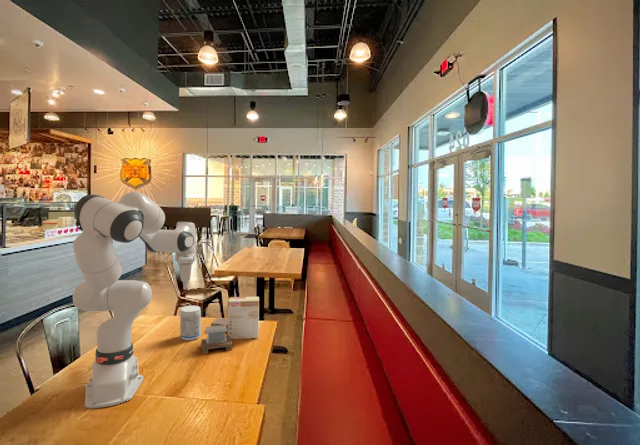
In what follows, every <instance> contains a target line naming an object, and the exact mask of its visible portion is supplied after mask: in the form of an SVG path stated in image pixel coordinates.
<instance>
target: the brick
mask: <svg viewBox="0 0 640 445" xmlns="http://www.w3.org/2000/svg"><path fill="white" fill-rule="evenodd" d="M221 325H226V327H227V331H226V332H225V333H228V318H224V317H217V318H215V319H214V320H213V321H212V322H211V323H210V327H211V326H221Z"/></svg>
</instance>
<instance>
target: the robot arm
mask: <svg viewBox="0 0 640 445" xmlns="http://www.w3.org/2000/svg"><path fill="white" fill-rule="evenodd" d="M73 214H74V218H75V226H76V228H77V229H79V231H82V232H81V233H80V234H79V235H78V236H77V237H76V238H75V239H74V241H73V246H72V247H73V252H74V257H75V260H76V263H77V265H78V267H79V269H80V272H81V274H82V275H83V280H84V281H83V282H81V283H79V284H78V285H77V286H76V287H75V289H74V291H73V293H72V302H73V305H74V306H75V308H76V309H77V310H80V311H86V312H113V317H111V318H108V319H106V320H105V321H104V322H102V323H101V324H100V325H99V326H98V327H97V330H96V350H95V356H94V357H95V359H94V360H95V361H94V362H92V363H91V366H92V377H90V379H89V382H87V383H86V384H85V389H84V390H85V393H84V394H85V395H84V407H85V408H86V409H99V408H100V409H101V408H107V407H111V406H117V405H120V403H121V404H124V403H126V402H125V401H127V402H129V401H131V400H132V399H133V397H134V396H135V394H136V393H137V391H138V389H139V387H140V386H141V384H142V382H143V381H144V379H145V378H144V375H142V374H139V361H138V360H139V359H138V357H137V356H135V354H134V345H133V342H132V338H133V337H132V334H133V333H132V332H133V323H134V321H135V320H136V317H137V315H138V314H139V313H140V312H141V311H143V310H144V309H145V308H146V307H148V305H149V304H150V303H151V301H152V298H153V290H152V287H151V285H150V284H149V283H148V282H146V281H142V280H135V279H126V280H125V279H120V278H121V277H122V273H123V267H122V265H121V262H120V260H119V257H118V255H117V252H116V249H115V247H114V246H113V244H114V242H113V241H115V242H119V243H122V244H123V243H124V244H127V243H128V244H129V243H131V242H132V241H135V240H136V239H137V238H138V237H139V239H140V240H141V241H142V242H143V243H144V245H145V247H146V249H147V250H148V251H149V252H150V253H174V254H175V256H174V258H175V262H177V265H178V268H179V276H180V281H181V282H182V285H183V287H182V288H183V290H188V287H189V285H188V284H189V281H190V280H191V275H192V267H193V264H194V262H195V261H196V260H197V248H196V242H197V232H196V230H197V229H196V225H195V223H194V222H192V221H185V220H183V221H182V220H181V221H177V223H176V226H175V227H176V228H174V229H162V228H163V226H164V224H165V221H166V214H165V212H164V210H163V209H162V208H161V207H160V206H159V205H158V204H157V203H156V202H155V201H154V200H152V199H151V198H150V197H148V196H147V195H146V194H143V193H141V192H138V191H130V192H127V193H125V194H124V195H123V196H121V198H120V199H119V201H118V202H117V201H115V200H111V199H109V198H105V197H104V196H102V195H98V194H86V195H84V196H82V197H80V198H79V199H78V201H77V202H76V204H75V206H74V213H73ZM133 395H134V396H133ZM131 398H132V399H131ZM130 399H131V400H130ZM128 400H129V401H128ZM123 402H124V403H123Z"/></svg>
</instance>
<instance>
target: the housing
mask: <svg viewBox="0 0 640 445" xmlns="http://www.w3.org/2000/svg"><path fill="white" fill-rule="evenodd" d="M225 331H227V327H226V325H221V326H211V325H210V326H205V333H206V334H207V338H205V339H206V345H211V344H219V343H227V339H226V334H225V333H226V332H225Z"/></svg>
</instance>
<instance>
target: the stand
mask: <svg viewBox="0 0 640 445" xmlns="http://www.w3.org/2000/svg"><path fill="white" fill-rule="evenodd" d="M225 336H226V335H225ZM226 339H227V343H219V344H211V345H206V338H202V339H201V340H200V342H201V351H202V352H201V353H202V355H203V354H204V355H205V354H209V350H213V349H221V348H225V350H226V351H232V350H233V342H232V339H231V338H230V336H228V335H227V336H226Z"/></svg>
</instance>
